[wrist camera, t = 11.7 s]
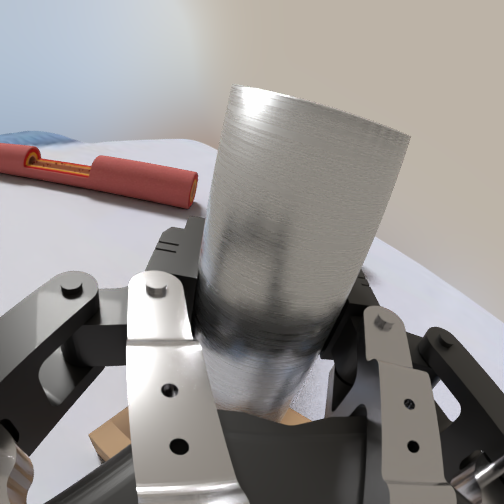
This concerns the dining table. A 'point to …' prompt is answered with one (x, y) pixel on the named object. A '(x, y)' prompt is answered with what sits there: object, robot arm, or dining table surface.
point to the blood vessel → (105, 175)
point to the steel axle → (285, 240)
